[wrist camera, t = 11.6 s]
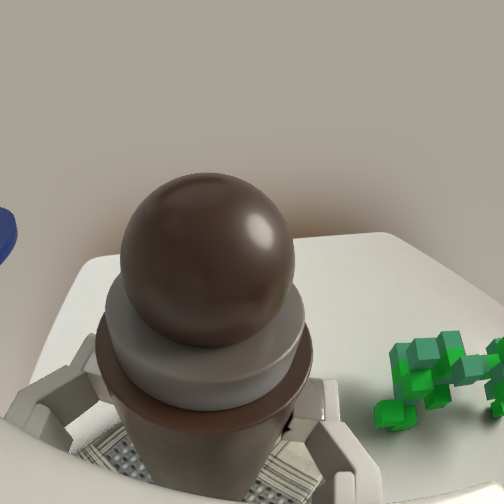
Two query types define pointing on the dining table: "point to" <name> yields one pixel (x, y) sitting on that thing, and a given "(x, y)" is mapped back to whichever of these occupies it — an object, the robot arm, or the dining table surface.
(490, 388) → the building blocks
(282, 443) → the dish towel
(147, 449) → the pepper mill
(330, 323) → the dining table surface
